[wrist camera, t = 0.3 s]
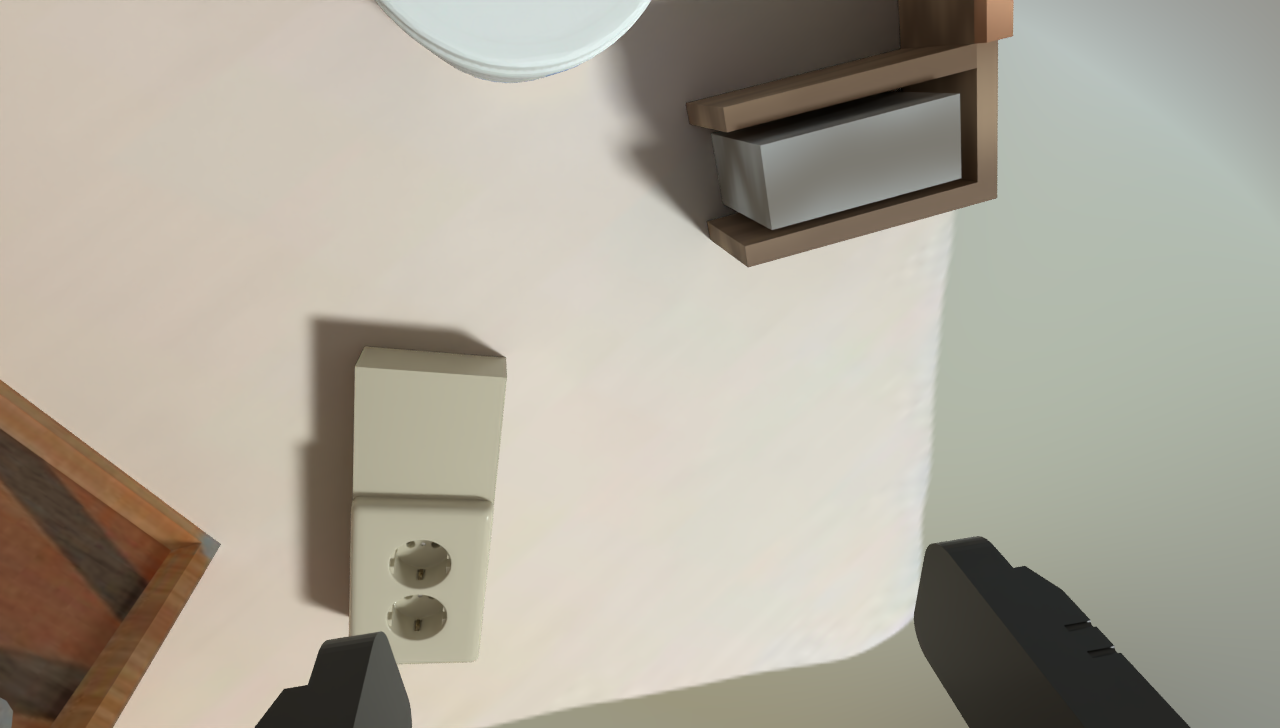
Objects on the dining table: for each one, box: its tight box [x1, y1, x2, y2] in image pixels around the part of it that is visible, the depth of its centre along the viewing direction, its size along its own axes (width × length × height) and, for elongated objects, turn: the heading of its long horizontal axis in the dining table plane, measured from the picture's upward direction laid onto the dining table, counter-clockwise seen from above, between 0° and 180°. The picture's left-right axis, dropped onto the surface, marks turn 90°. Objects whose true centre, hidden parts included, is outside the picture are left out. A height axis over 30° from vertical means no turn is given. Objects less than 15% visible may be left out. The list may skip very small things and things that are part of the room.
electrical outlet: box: [349, 346, 507, 664], centre depth 37 cm, size 7×4×18 cm
